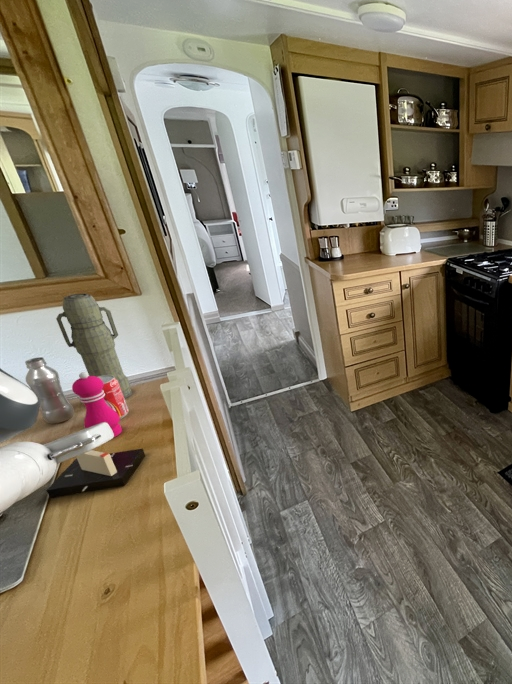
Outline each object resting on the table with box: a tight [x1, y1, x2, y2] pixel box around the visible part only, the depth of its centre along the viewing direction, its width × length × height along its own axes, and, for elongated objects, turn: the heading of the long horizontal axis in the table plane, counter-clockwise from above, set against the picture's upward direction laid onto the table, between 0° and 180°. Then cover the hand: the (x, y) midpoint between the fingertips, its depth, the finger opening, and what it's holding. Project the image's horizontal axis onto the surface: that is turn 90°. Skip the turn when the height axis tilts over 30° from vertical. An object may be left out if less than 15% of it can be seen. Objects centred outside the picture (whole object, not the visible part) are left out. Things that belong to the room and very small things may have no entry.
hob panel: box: [46, 448, 146, 499], centre depth 91 cm, size 15×14×3 cm
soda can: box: [98, 375, 130, 420], centre depth 112 cm, size 7×7×13 cm
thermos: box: [55, 293, 133, 400], centre depth 119 cm, size 9×12×35 cm
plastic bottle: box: [24, 357, 75, 424], centre depth 109 cm, size 6×7×20 cm
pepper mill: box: [71, 371, 123, 439], centre depth 103 cm, size 7×7×20 cm
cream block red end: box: [75, 449, 117, 476], centre depth 89 cm, size 9×1×6 cm, turn 77°
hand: (63, 444), depth 75 cm, fingers open, 8 cm apart
